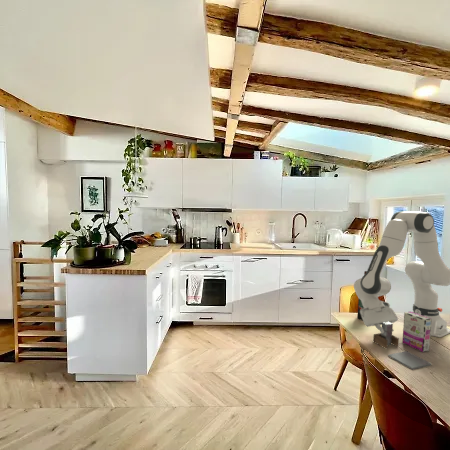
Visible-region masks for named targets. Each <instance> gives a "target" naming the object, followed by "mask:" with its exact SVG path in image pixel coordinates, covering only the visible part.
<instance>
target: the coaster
mask: <svg viewBox="0 0 450 450" xmlns="http://www.w3.org/2000/svg"><path fill="white" fill-rule="evenodd" d="M387 355H388V356H387V357H389V356H390V357H391V359H392V358H393V359H392V360H394V361H396V362H397V361H398V362H397V363H400V365H403V366H404V367H407V368H409V369H411V370H417V369H418V370H419V369H421V368H425V367H426V368H427V367H429V366H432V363H431V362H429V361H427V360H426V359H423V358H421V357H419V356H417V355H416V354H414V353H412V352H409V351H407V350H404V351H400V352H395V353H391V354H387ZM390 357H389V358H390Z"/></svg>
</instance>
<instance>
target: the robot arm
mask: <svg viewBox="0 0 450 450" xmlns="http://www.w3.org/2000/svg"><path fill="white" fill-rule="evenodd" d="M408 232H412V233H413V236H412V237H413V239H412V240H413V248H414V254H415V256H416V257H418V258H419V259H420V260H421V261H418V260H413V261H408V262H407V264H406V265H405V267H404V271H405V272H404V273H405V274H406V276H407V277H408V278H409V279H410V281H411V283H412V286H413V291H414V301H413V304H412V312H413V313H416V314H419V315H422V316H425V317H428V318H431V319H432V320H431V333H430V337H436V338H442V337H444V336H446V335H449V334H450V328H448V327H447V320H446V319H445V318H443V317H442V316H441V315H440V313H442V312H443V308H441V307H438V305H439V304H438V303H439V295H438V292H437V291H436V290H435V289H434V288H433V287H432V285H434V286H440V287H448V286H450V268H449V267H448V266H447V265H446V264H445V262H444V260H443V259H442V257H441V255H440V252H439V243H438V235H437V230H436V227H435V220H434V217H433V216H432V215H431V214H430V213H428V212H424V211H415V210H413V211H412V210H411V211H410V210H409V211H408V210H407V211H404V210H402V211H397V212H395V213H393V214H392V215H391V218H390V220H389V221H388V223H387V224H386V225H385V228H384V230H383V232H382V235H381V238H380V242H379V243H378V247H377V248H376V250H375V251H374V254H373V256H372V258H371V260H370V263H369V265H368V268H367V270H366V271H367V272H366V273H365V275H363V276H362V277H360V278H359V279H356V281H354V283H353V289H354V291H355V294H356V296H357V297H358V300H359V299H360V300H361V302H362V305H363V307H364V309H361V310H360V314H361V316H362V319H363V321H362V322H363V323H364V326H365V327H369V328H370V327H375V328H376V329H377V330H379V333H382V334H383V333H385V332H386V331H385V329H383V328H382V322H390V323H392V324H394V323H396V322H397V321H399V319H398V318H399V317H398V316H397V314H396V313H395V311H394V310H393V308H392V307H391V304H390V303H389V302H388V301H387V302H386V301H383V300H380V299H379V297H382V296H385V295H387V294H389V293H390V291H391V289H392V285H391V282H390V280H389V279H387V278H385V277H382V276H381V275H382V271H383V270H384V266H385V264H386V262H387V261H388V260H389V259H390V258H392V257H397V256H398V255H399V254H401V252H402V250H403V248H404V246H405V244H406V239H407V235H408ZM393 332H394V329H393V328H392V333H393Z"/></svg>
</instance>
